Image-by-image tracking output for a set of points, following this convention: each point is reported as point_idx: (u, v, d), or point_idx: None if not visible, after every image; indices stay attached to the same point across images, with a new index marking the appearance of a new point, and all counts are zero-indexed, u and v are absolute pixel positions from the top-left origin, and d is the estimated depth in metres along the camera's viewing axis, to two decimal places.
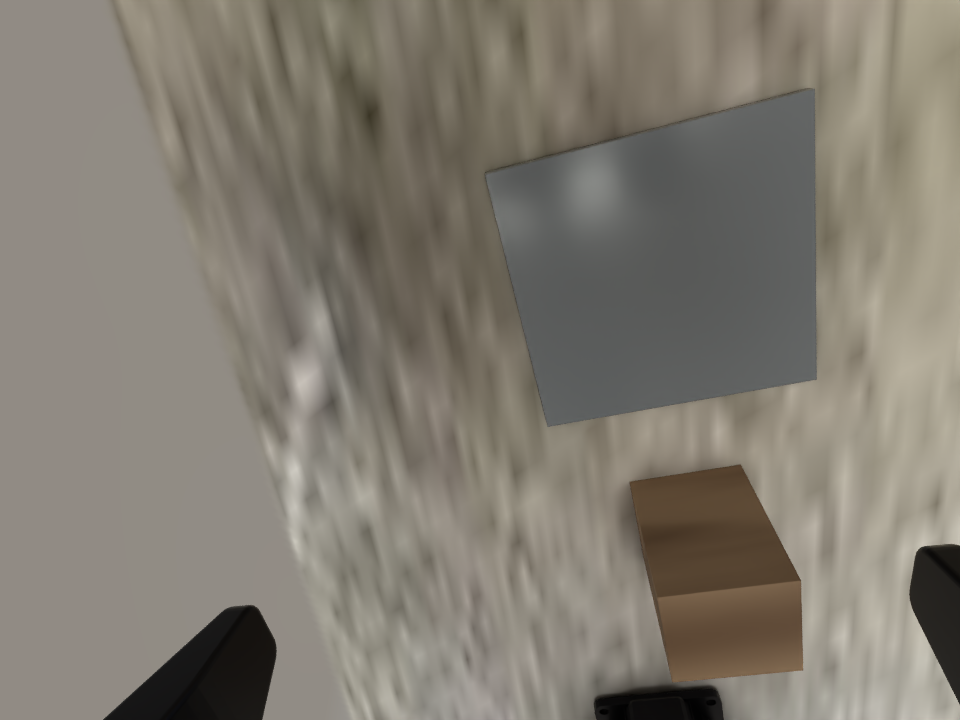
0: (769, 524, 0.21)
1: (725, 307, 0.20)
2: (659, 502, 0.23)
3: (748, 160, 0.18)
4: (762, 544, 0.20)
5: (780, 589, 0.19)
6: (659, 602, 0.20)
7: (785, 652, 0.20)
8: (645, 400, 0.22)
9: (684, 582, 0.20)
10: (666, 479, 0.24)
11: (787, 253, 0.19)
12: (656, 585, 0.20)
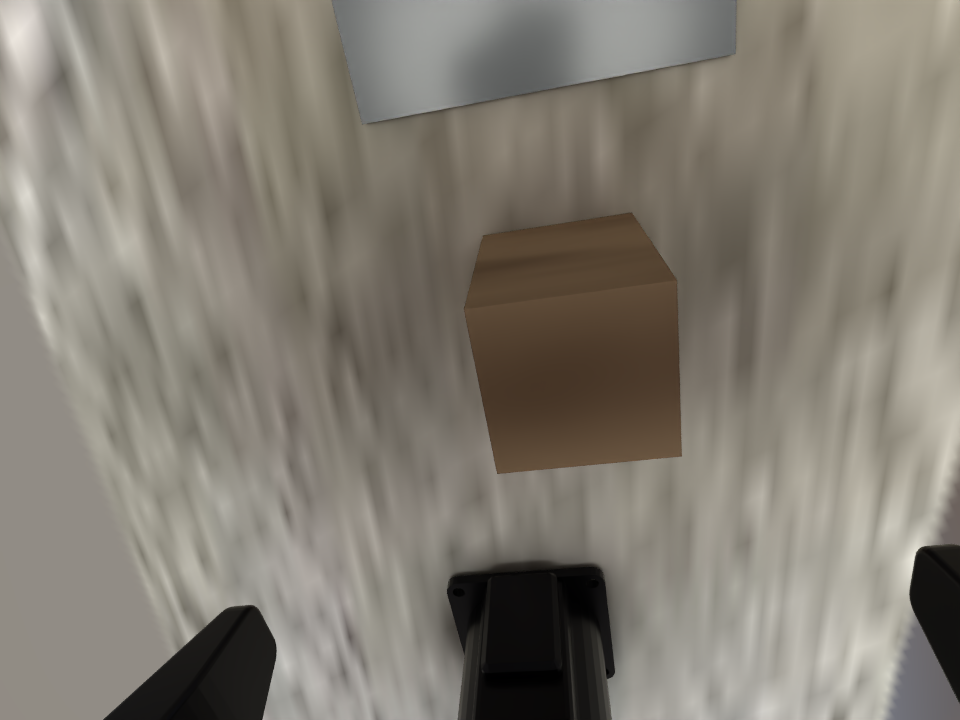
0: (650, 245, 0.14)
1: None
2: (512, 244, 0.17)
3: None
4: (634, 260, 0.14)
5: (645, 296, 0.12)
6: (468, 319, 0.13)
7: (656, 422, 0.14)
8: (496, 82, 0.16)
9: (509, 294, 0.13)
10: (530, 230, 0.18)
11: None
12: (468, 300, 0.13)
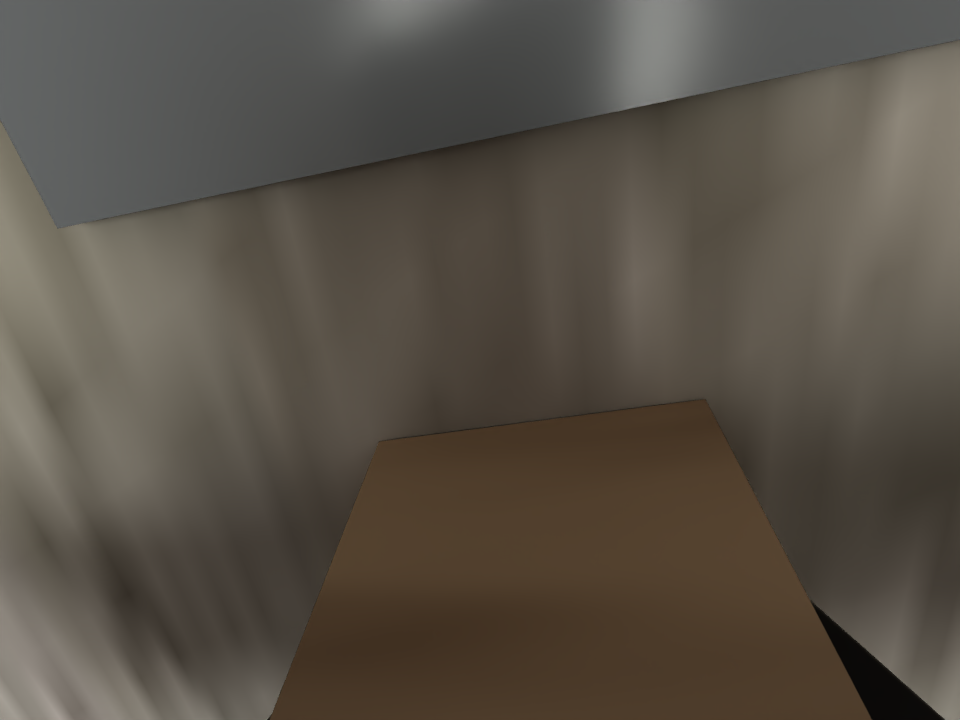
0: (813, 626, 0.05)
1: None
2: (425, 507, 0.07)
3: None
4: None
5: None
6: None
7: None
8: (363, 122, 0.06)
9: None
10: (479, 438, 0.08)
11: None
12: None
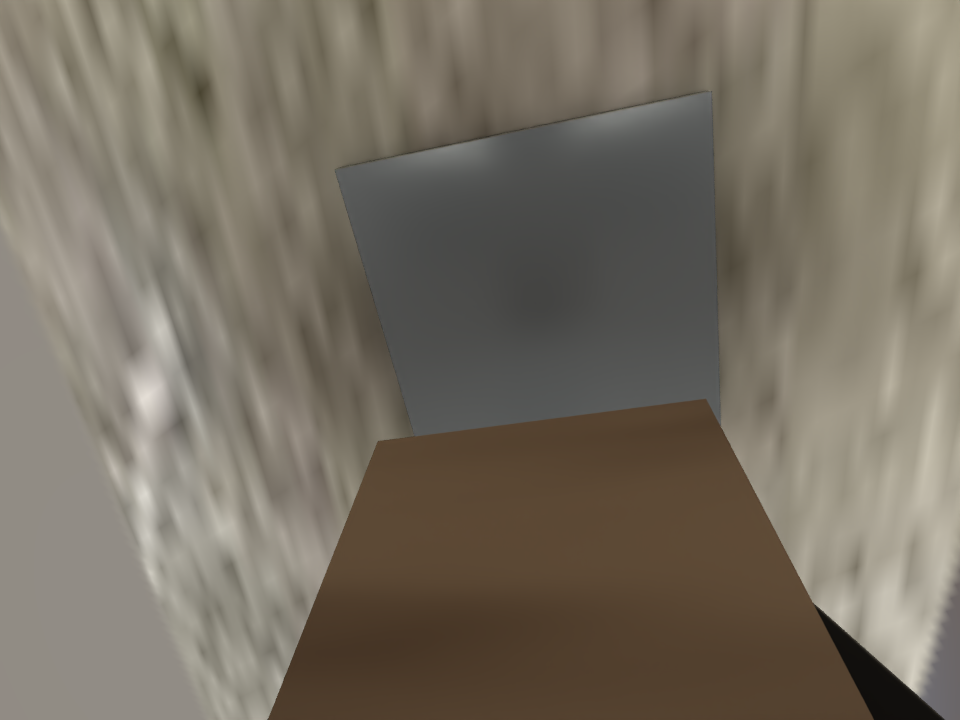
0: (815, 628, 0.05)
1: (616, 339, 0.18)
2: (425, 507, 0.07)
3: (637, 171, 0.16)
4: None
5: None
6: None
7: None
8: None
9: None
10: (478, 438, 0.08)
11: (685, 281, 0.17)
12: None
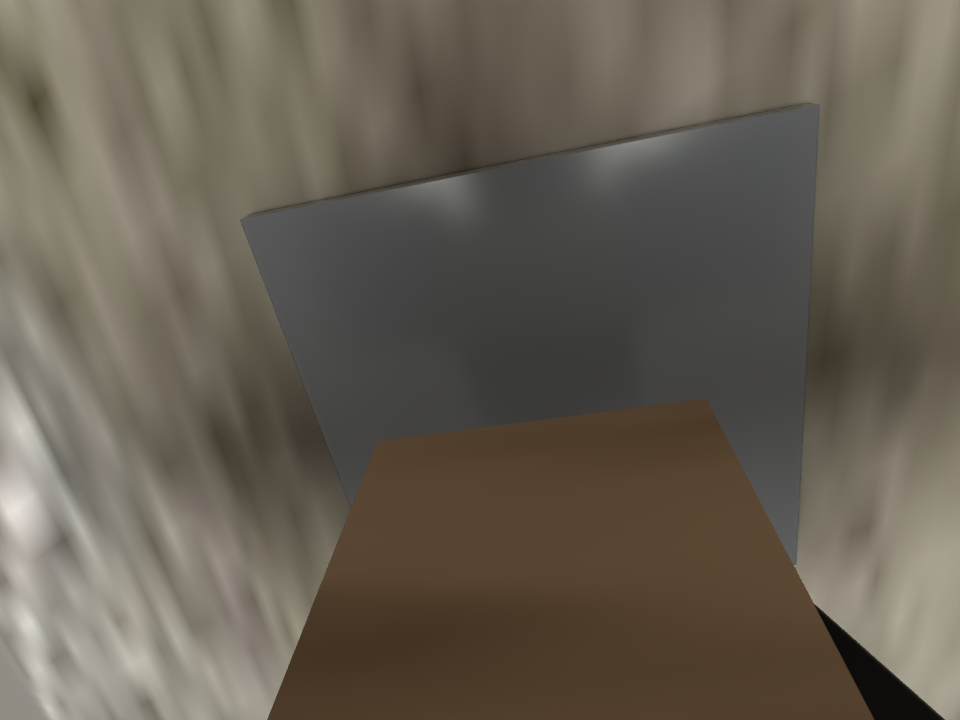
0: (816, 627, 0.05)
1: None
2: (424, 507, 0.07)
3: (695, 225, 0.10)
4: None
5: None
6: None
7: None
8: None
9: None
10: (478, 437, 0.08)
11: (758, 380, 0.12)
12: None
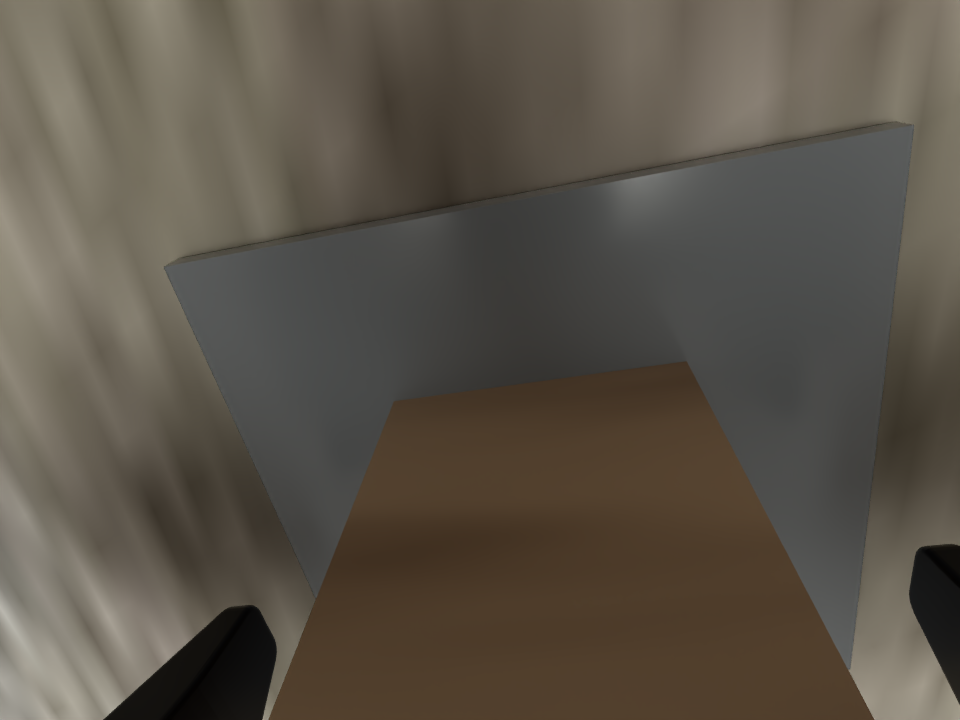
0: (766, 530, 0.06)
1: None
2: (438, 451, 0.08)
3: (743, 277, 0.08)
4: (735, 613, 0.05)
5: None
6: None
7: None
8: None
9: None
10: (484, 396, 0.09)
11: (815, 463, 0.09)
12: None
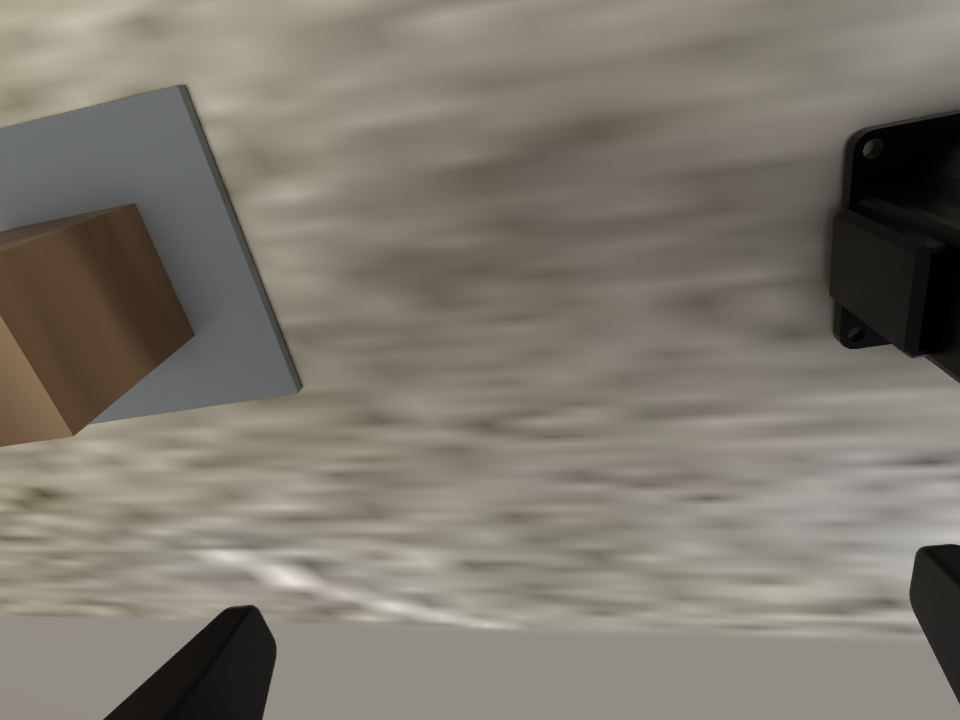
0: None
1: None
2: None
3: None
4: None
5: None
6: None
7: None
8: (246, 292, 0.19)
9: None
10: None
11: (35, 154, 0.17)
12: None
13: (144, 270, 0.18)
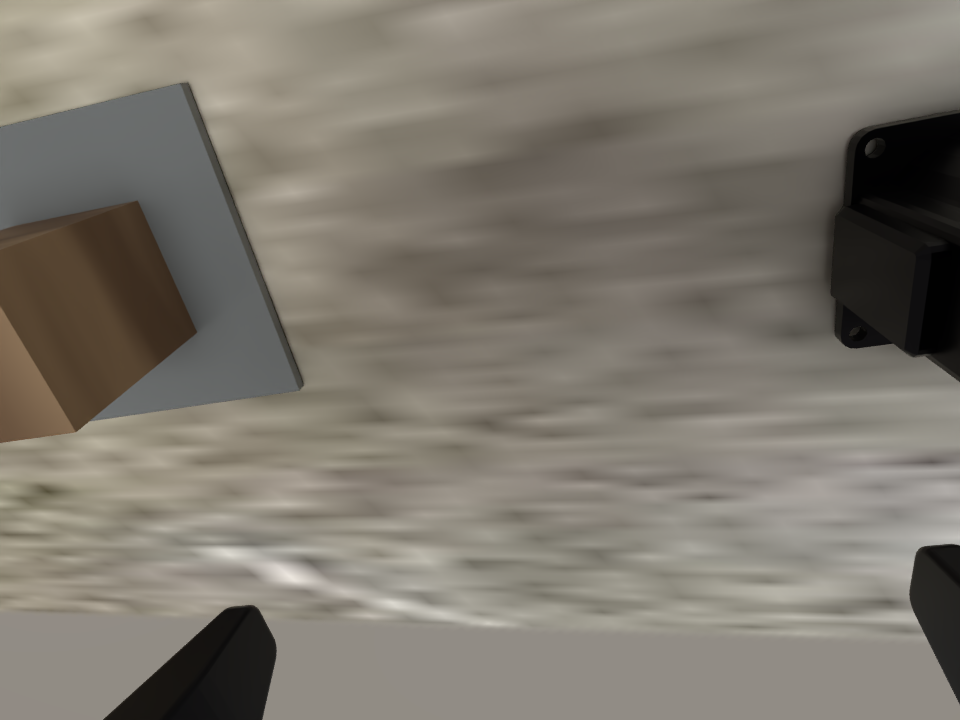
0: None
1: None
2: None
3: None
4: None
5: None
6: None
7: None
8: (248, 290, 0.19)
9: None
10: None
11: (39, 152, 0.17)
12: None
13: (146, 267, 0.18)
